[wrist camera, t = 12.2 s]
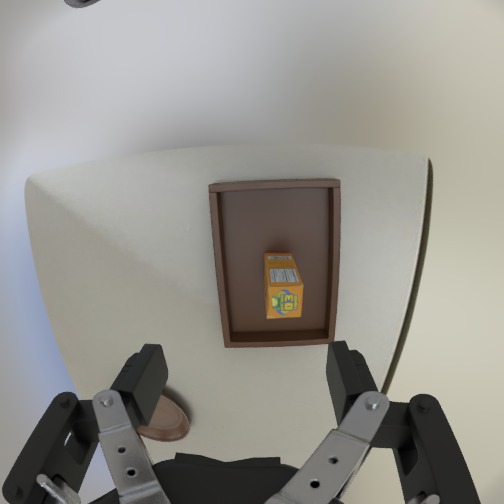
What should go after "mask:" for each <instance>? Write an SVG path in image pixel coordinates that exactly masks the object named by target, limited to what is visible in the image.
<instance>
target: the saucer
mask: <svg viewBox="0 0 504 504" xmlns="http://www.w3.org/2000/svg"><path fill="white" fill-rule="evenodd" d="M189 430H190V424H189V421H188V418H187V416H186V414H185V413H184V411H183V410H182V408H181V407H180V406H179V405H178V404H177V403H176V402H175V401H174V400H173V399H172V398H170V397H169V396H168V395H166V394H165V393H163V392H162V394H161V396H160V399H159V401H158V404H157V406H156V409H155V411H154V414H153V416H152V419H151V421H150V424H149V426H148V427H145V426H139V428H138V432H139V434H140V435H141V436H143V437H146V438H149V439H152V440H156V441H160V442H174V441H178V440H181V439H183V438H184V437H186V436H187V434H188V433H189Z"/></svg>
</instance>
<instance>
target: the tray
mask: <svg viewBox="0 0 504 504" xmlns="http://www.w3.org/2000/svg"><path fill="white" fill-rule="evenodd" d="M208 187H209V192H210V193H209V201H210V213H211V225H212V236H213V247H214V257H215V267H216V277H217V286H218V295H219V304H220V313H221V321H222V329H223V337H224V345H225V348H243V347H284V346H304V345H319V344H329V342H334V337H335V326H336V314H337V301H338V284H339V264H340V223H341V199H340V180H338V179H282V180H258V181H240V182H225V183H214V184H211V185H209V186H208ZM265 253H291V254H292V257H293V259H294V262H295V265H296V267H297V270H298V272H299V275H300V278H301V280H302V283H303V285H304V287H303V300H302V311H301V317H286V318H274V319H267V317H266V308H265V294H264V255H265Z"/></svg>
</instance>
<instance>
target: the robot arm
mask: <svg viewBox="0 0 504 504" xmlns="http://www.w3.org/2000/svg"><path fill="white" fill-rule="evenodd" d="M326 376H327V381H328V386H329V390H330V394H331V398H332V403H333V407H334V411H335V416H336V420H337V425H338V427H337V429H332V430H331V431H330V432H329V433H328V435H327V436H326V437H325V439H324V440H323V441H322V443H321V444H320V445H319V446H318V448H317V449H316V450H315V451H314V453H313V454H312V455H311V456H310V458H309V459H308V460H307V461H306V462H305V464H304V465H303V466H302V467H301V468H300V469H298V468H295V467H293V466H289V465H285V464H280V457H267V458H249V459H244V460H238V461H232V462H222V461H219V460H215V459H212V458H208V457H205V456H202V455H193V454H184V453H176V455H175V459H170V460H165V461H161V462H159V463H156V464H154V462H153V461H152V459H151V457H150V455H149V453H148V451H147V449H146V447H145V445H144V443H143V441H142V438H141V436H140V434H139V432H138V428H139V426H145V427H148V426H149V424H150V421H151V419H152V416H153V414H154V411H155V409H156V406H157V404H158V401H159V399H160V396H161V394H162V392H163V389H164V387H165V384H166V382H167V379H168V368H167V364H166V361H165V357H164V354H163V350H162V347H161V345H160V344H144V346H143V347H142V349H141V351H140V352H139V353H135V354H133V355H132V356H131V357H130V358H128V360H127V362H126V363H125V365H124V366H123V368H122V370H121V372H120V373H119V375H118V376H117V378H116V379H115V381H114V383H113V384H112V386H111V388H110V389H109V390H104V391H101V392H99V393H97V394H96V395H95V396H94V398H93V400H78V398H77V397H76V395H75V394H74V393H72V392H63V393H60V394H58V395H57V396H56V397H55V398H54V399H53V401H52V402H51V404H50V405H49V407H48V409H47V410H46V412H45V413H44V415H43V416H42V418H41V419H40V421H39V423H38V424H37V426H36V428H35V429H34V431H33V433H32V434H31V436H30V437H29V439H28V441H27V443H26V444H25V446H24V448H23V449H22V451H21V453H20V455H19V456H18V458H17V460H16V462H15V463H14V466H13V467H12V469H11V471H10V473H9V475H8V477H7V479H6V480H5V482H4V484H3V487H2V493H3V496H4V498H5V500H7V502H9V503H10V504H81V501H80V497H79V495H78V492H79V490H80V487H81V484H82V482H83V479H84V477H85V474H86V472H87V469H88V466H89V464H90V462H91V459H92V457H93V454H94V452H95V450H96V447H97V445H98V443H99V442H100V444H101V447H102V450H103V453H104V456H105V459H106V462H107V465H108V468H109V471H110V473H111V476H112V479H113V481H114V484H115V486H116V488H115V489H113V490H112V491H110V492H108V493H107V494H105V495H103V496H101V497H100V498H98V499H96V500H94V501H92V502H90V503H89V504H344V503H342V502H341V501H340V500H341V498H342V497H343V495H344V494H345V492H346V491H347V489H348V488H349V486H350V485H351V483H352V481H353V479H354V478H355V476H356V475H357V473H358V471H359V470H360V468H361V466H362V465H363V463H364V462H365V460H366V458H367V457H368V455H369V453H370V451H371V450H372V448H373V447H376V448H392V450H393V453H394V457H395V461H396V465H397V469H398V474H399V478H400V482H401V486H402V491H403V495H404V500H405V504H481V503H480V500H479V497H478V494H477V491H476V489H475V486H474V483H473V480H472V478H471V475H470V472H469V470H468V467H467V464H466V462H465V460H464V457H463V455H462V452H461V450H460V447H459V445H458V443H457V440H456V438H455V436H454V434H453V432H452V429H451V427H450V425H449V423H448V420H447V418H446V416H445V414H444V412H443V410H442V408H441V406H440V404H439V402H438V400H437V399H436V398H435V397H433V396H431V395H428V394H418V395H416V396H414V397H412V398H411V400H410V402H409V403H402V402H392V401H389V399H388V398H387V397H386V396H385V395H384V394H382V393H380V392H378V389H377V387H376V384H375V382H374V380H373V377H372V375H371V373H370V371H369V368H368V366H367V365H366V361H365V359H364V357H363V355H362V354H361V353H359V352H358V351H357V350H349V349H348V346H347V344H346V341H334V342H329V345H328V355H327V364H326ZM69 432H70V433H71V435H70V437H69V439H68V441H67V443H66V445H64V444H65V440H66V438H67V436H68V434H69Z"/></svg>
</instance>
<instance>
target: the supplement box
mask: <svg viewBox="0 0 504 504" xmlns="http://www.w3.org/2000/svg"><path fill="white" fill-rule="evenodd" d="M303 287H304V285H303V283H302V280H301V278H300V275H299V272H298V270H297V267H296V265H295V262H294V259H293V257H292V254H291V253H265V255H264V294H265V308H266V317H267V319H274V318H286V317H301V311H302V300H303Z"/></svg>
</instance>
